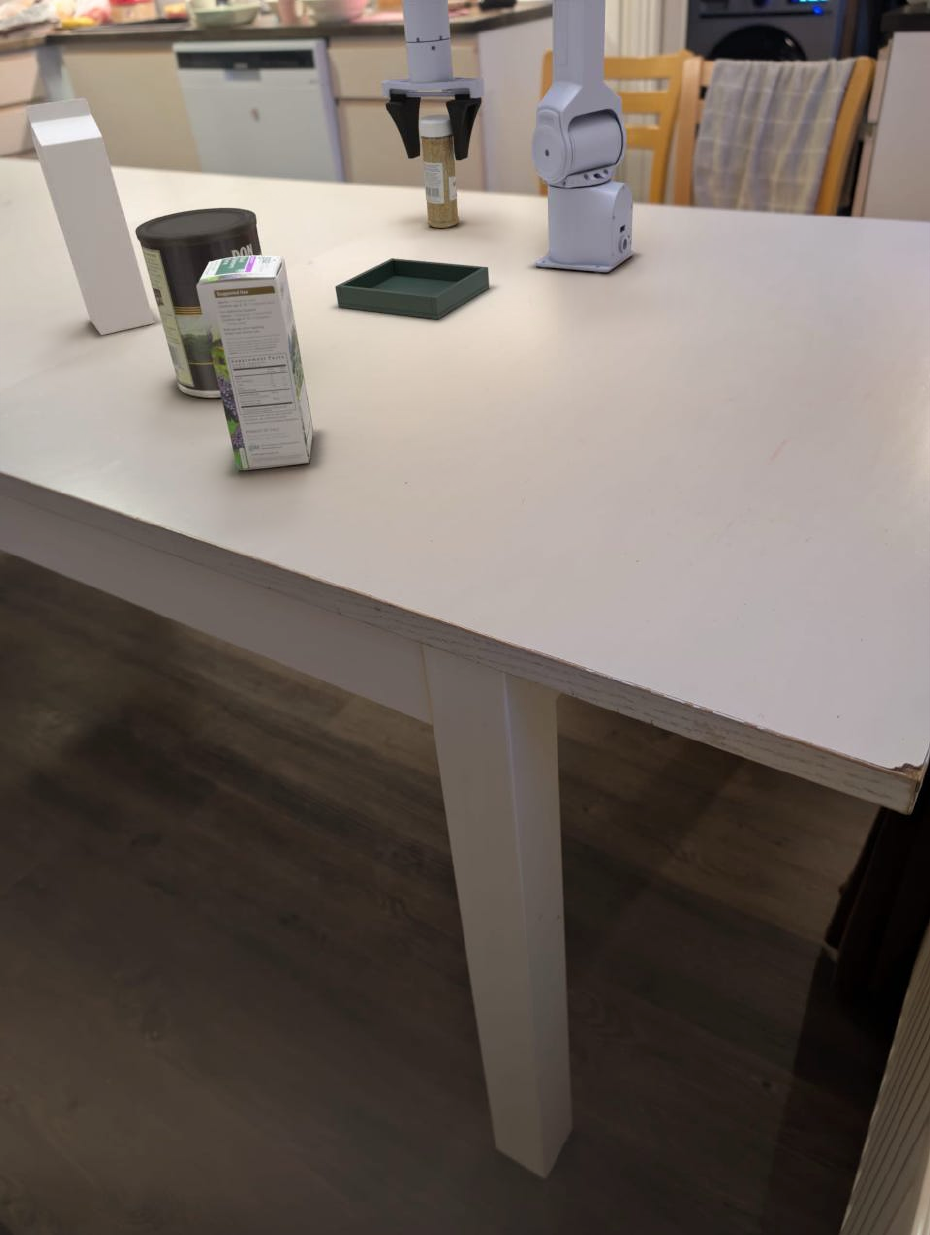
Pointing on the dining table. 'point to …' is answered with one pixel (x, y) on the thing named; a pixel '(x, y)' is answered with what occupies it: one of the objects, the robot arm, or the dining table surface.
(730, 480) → the dining table surface
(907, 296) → the dining table surface
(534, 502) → the dining table surface
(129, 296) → the milk
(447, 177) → the sprinkles bottle
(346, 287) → the serving tray
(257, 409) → the syrup box
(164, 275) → the coffee can
